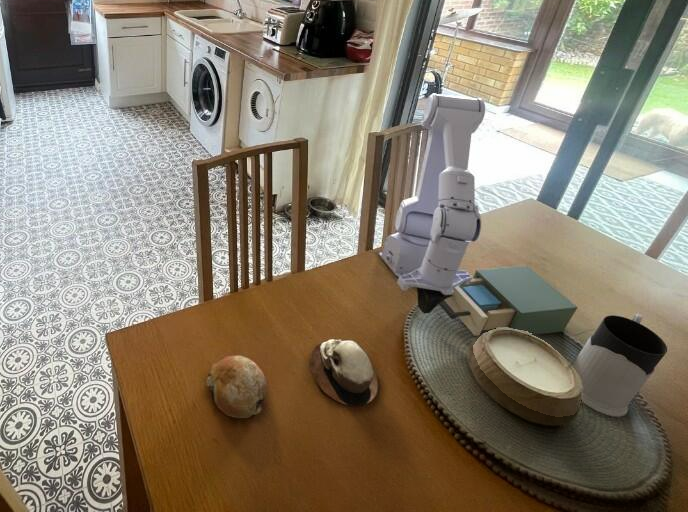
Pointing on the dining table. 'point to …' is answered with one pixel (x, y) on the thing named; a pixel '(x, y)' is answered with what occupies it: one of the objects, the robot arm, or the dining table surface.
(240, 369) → the bread roll
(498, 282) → the cabinet
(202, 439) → the dining table surface
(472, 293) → the light blue block
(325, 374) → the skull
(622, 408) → the black and white mug
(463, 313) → the drawer
